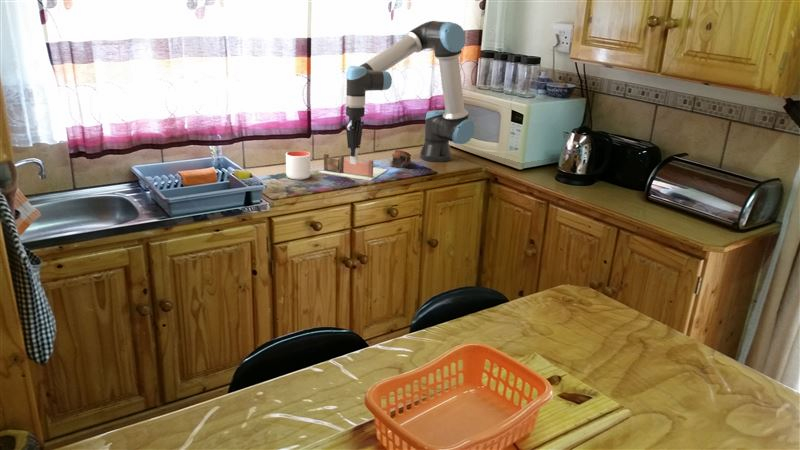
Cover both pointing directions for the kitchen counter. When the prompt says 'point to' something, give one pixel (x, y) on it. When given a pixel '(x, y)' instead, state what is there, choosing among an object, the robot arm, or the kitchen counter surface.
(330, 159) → the fence fixed
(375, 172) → the card
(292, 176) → the cup
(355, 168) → the fence panel
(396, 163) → the brown rock
